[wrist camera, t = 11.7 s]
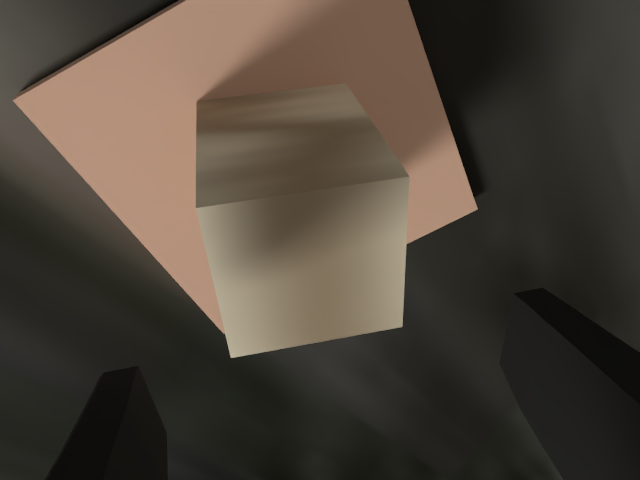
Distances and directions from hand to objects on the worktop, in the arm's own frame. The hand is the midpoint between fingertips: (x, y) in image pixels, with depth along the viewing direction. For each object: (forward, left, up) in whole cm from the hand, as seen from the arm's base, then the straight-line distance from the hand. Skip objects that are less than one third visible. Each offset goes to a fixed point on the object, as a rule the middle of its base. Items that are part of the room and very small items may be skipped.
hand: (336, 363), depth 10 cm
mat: (0, 0, -9) cm, 9 cm away
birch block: (0, 0, -9) cm, 9 cm away
